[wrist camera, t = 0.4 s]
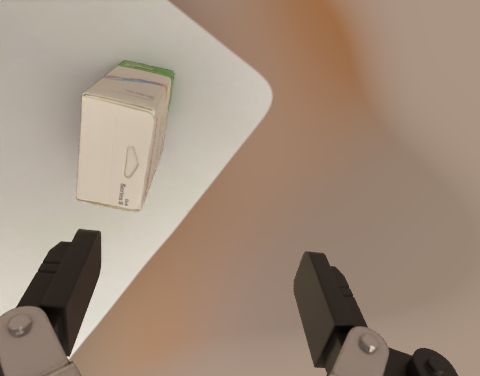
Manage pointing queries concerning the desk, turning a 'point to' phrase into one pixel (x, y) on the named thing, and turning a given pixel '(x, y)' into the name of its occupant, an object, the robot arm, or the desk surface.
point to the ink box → (122, 135)
